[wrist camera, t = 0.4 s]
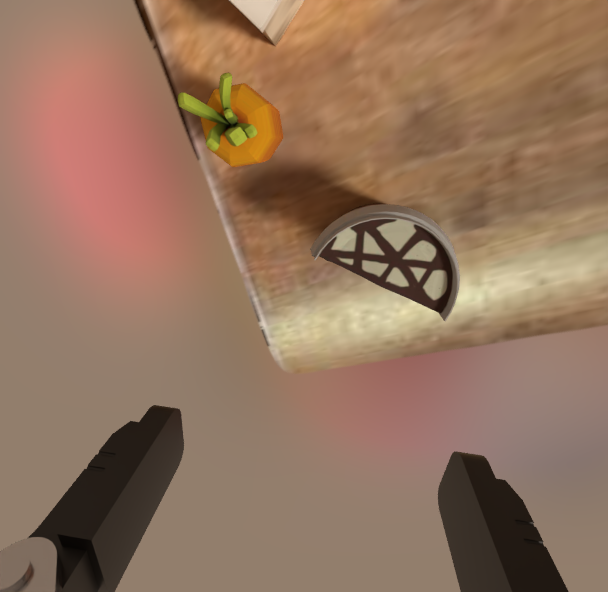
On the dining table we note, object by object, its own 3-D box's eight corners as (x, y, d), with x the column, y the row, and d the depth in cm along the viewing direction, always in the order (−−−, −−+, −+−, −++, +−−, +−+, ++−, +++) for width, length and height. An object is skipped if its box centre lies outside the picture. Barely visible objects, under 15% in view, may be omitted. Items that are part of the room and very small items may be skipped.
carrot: (232, 122, 30) (144, 104, 17) (277, 89, 29) (220, 39, 15) (262, 172, 32) (204, 191, 18) (306, 142, 30) (278, 140, 17)
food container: (458, 224, 32) (504, 256, 23) (422, 277, 35) (451, 324, 26) (344, 168, 31) (346, 177, 22) (317, 226, 34) (308, 256, 24)
